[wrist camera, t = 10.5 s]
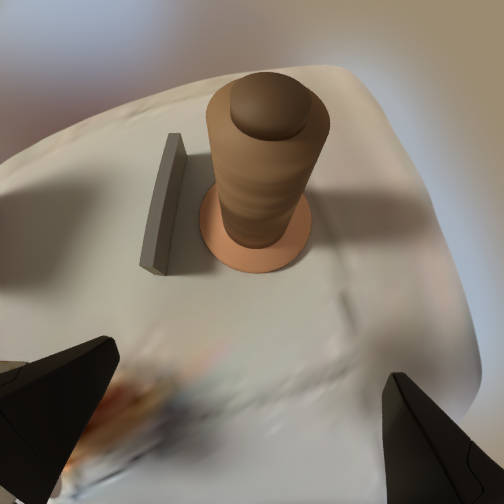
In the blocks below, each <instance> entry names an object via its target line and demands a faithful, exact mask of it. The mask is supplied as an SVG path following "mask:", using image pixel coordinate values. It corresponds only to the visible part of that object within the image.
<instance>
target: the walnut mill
mask: <svg viewBox="0 0 504 504" xmlns="http://www.w3.org/2000/svg"><path fill="white" fill-rule="evenodd" d="M206 122H207V128H208V135H209V142H210V148H211V154H212V161H213V167H214V173H215V179H216V185H217V191H218V197H219V203H220V209H221V215H222V220H223V226H224V229H225V231H226V233H227V234H228V236H229V237H230V238H231V239H232V240H233V241H234V242H235V243H237V244H238V245H240V246H242V247H245V248H249V249H262V248H266V247H269V246H271V245H273V244H275V243H276V242H277V241H279V240H280V239H281V237H282V236H283V235H284V233H285V231H286V229H287V227H288V224H289V222H290V220H291V218H292V216H293V213H294V211H295V209H296V207H297V205H298V202H299V200H300V198H301V196H302V193H303V191H304V189H305V187H306V184H307V182H308V180H309V178H310V175H311V173H312V171H313V169H314V166H315V164H316V162H317V159H318V157H319V155H320V153H321V150H322V148H323V146H324V143H325V141H326V139H327V136H328V134H329V130H330V118H329V114H328V111H327V109H326V107H325V105H324V104H323V102H322V101H321V100H320V99H319V97H318V96H317V95H316V94H314V93H313V92H312V91H311V90H309V89H308V88H306V87H305V86H304V85H302V84H301V83H300V82H299V81H297V80H295V79H294V78H291V77H289V76H287V75H284V74H280V73H274V72H259V73H254V74H250V75H247V76H245V77H243V78H240V79H237V80H235V81H232V82H230V83H228V84H226V85H225V86H223V87H222V88H221V89H219V90H218V91H217V92H216V93H215V94H214V95H213V97H212V98H211V100H210V101H209V104H208V106H207V110H206Z"/></svg>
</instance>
